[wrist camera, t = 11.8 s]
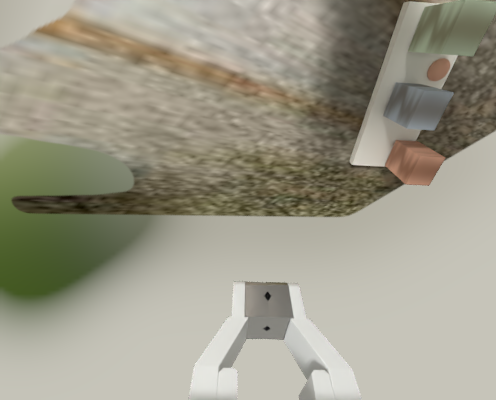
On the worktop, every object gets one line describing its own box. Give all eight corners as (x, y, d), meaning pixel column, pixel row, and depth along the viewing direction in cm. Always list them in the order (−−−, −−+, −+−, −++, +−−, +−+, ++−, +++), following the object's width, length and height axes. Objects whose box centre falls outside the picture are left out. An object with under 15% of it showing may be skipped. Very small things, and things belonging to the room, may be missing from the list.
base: (403, 2, 32) (411, 0, 30) (472, 8, 32) (483, 7, 31) (349, 161, 45) (352, 165, 44) (398, 164, 46) (403, 168, 44)
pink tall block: (395, 140, 41) (420, 156, 35) (417, 141, 41) (445, 157, 35) (384, 165, 44) (405, 184, 38) (405, 166, 44) (429, 185, 38)
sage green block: (424, 6, 30) (466, -1, 25) (453, 9, 31) (501, 2, 25) (407, 51, 33) (441, 54, 28) (434, 53, 33) (473, 56, 28)
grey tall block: (395, 82, 36) (424, 90, 30) (420, 84, 36) (454, 92, 30) (383, 115, 38) (406, 128, 33) (406, 116, 39) (434, 130, 33)
